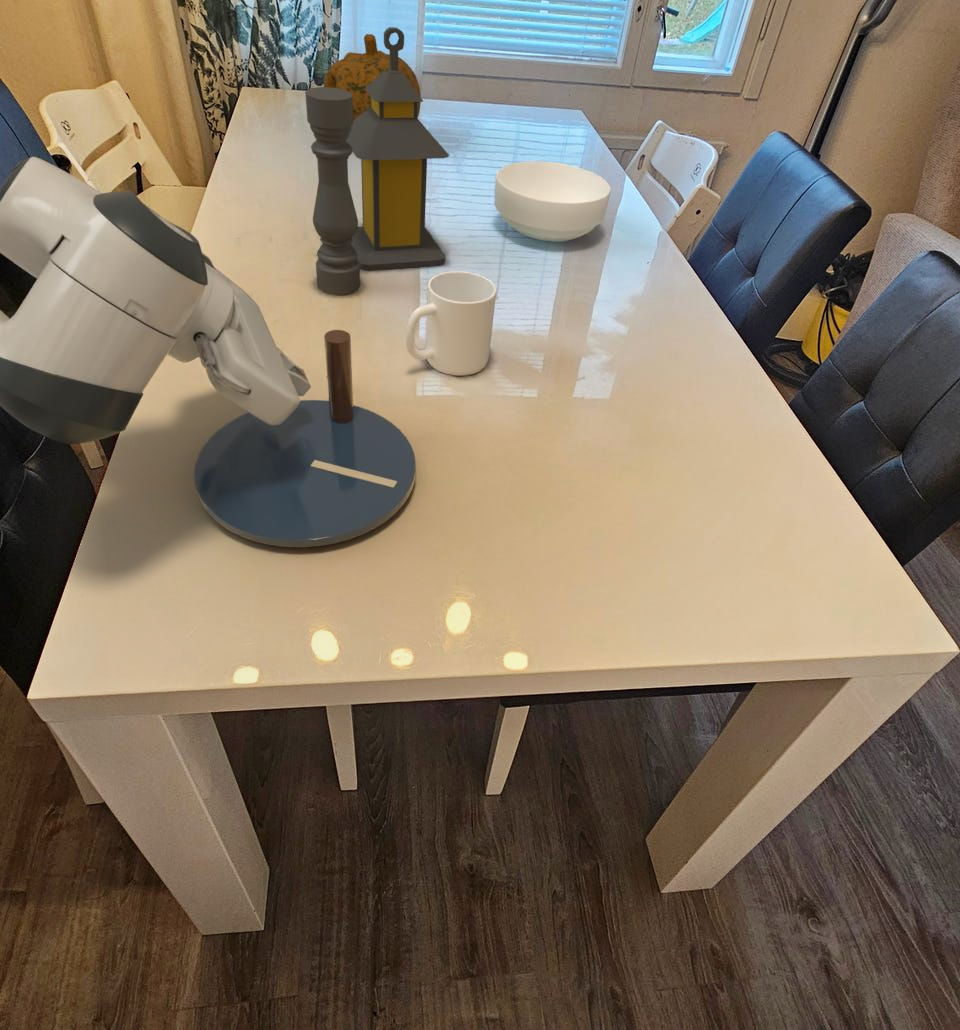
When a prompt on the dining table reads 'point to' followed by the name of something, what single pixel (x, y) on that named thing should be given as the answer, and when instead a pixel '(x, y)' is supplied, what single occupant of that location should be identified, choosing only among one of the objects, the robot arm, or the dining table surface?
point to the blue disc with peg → (308, 467)
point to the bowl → (550, 199)
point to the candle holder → (333, 190)
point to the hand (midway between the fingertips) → (303, 384)
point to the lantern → (394, 173)
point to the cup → (455, 323)
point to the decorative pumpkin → (365, 74)
